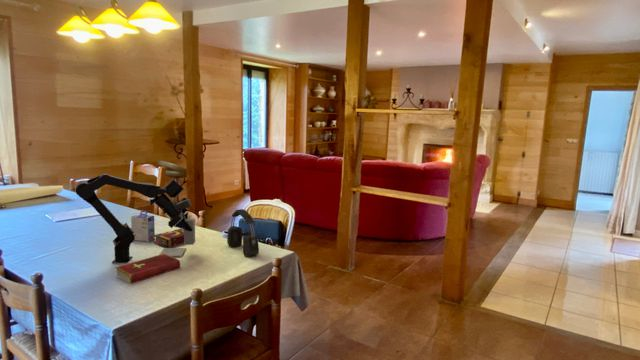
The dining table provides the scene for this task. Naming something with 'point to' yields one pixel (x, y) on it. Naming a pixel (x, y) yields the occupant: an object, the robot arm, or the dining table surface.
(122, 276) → the hardcover book
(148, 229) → the ink cartridge box
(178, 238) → the decorative book
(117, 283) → the dining table surface
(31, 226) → the dining table surface
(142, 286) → the dining table surface
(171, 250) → the plate
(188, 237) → the grey tall piece
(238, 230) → the headphones
